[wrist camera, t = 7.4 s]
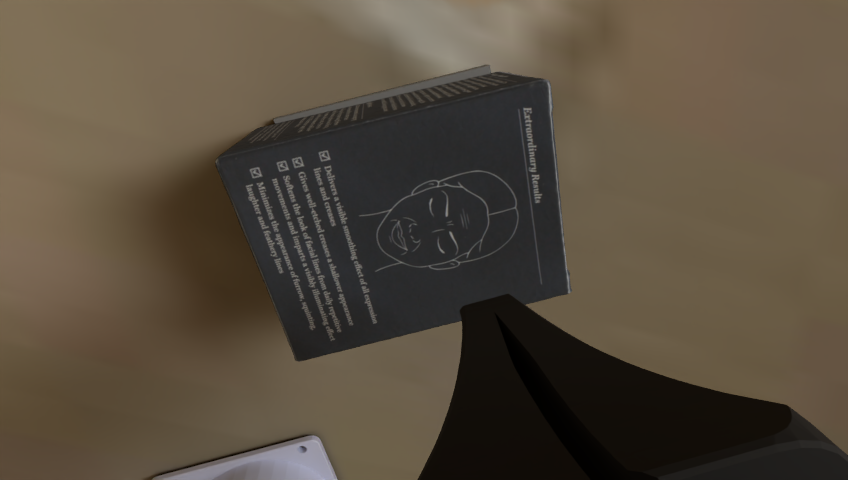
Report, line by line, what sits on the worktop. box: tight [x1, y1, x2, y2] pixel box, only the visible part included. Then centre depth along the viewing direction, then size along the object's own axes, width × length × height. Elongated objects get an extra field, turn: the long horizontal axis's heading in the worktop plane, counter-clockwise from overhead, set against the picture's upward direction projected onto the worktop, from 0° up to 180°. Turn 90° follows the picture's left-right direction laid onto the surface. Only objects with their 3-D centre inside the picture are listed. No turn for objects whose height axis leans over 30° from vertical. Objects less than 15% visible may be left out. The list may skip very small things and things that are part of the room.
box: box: [215, 72, 572, 361], centre depth 18 cm, size 8×6×11 cm
